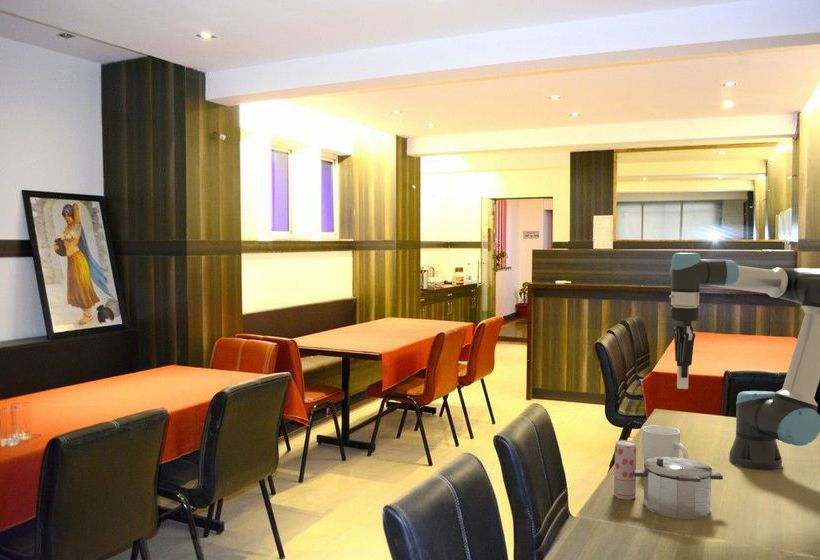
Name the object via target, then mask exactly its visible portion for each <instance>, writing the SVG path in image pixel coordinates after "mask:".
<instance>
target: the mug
mask: <svg viewBox="0 0 820 560" xmlns="http://www.w3.org/2000/svg"><path fill="white" fill-rule="evenodd" d="M641 429H642V430H641V432H642V433H641V450H642V451H641V452H642V456H643V457H642V458H643V462H644V461H645V460H647V459H650V458H655V457H677V458H680V452H682V456H683V457H682V458H685V459H689V453H688V450H687V448H686V446H685V445H684V444H682V443H681V431H680V430H679V429H678V428H675V427H671V426H666V425H658V424H654V425H653V424H652V425H645V426H643V427H642V428H641ZM680 450H681V451H680Z"/></svg>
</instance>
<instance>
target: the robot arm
mask: <svg viewBox="0 0 820 560" xmlns="http://www.w3.org/2000/svg"><path fill="white" fill-rule="evenodd" d="M669 273H670V277H671V278H670V281H671V282H670V293H671V294H670V295H668V297H669V299H670V305H672V306H671V307H670V312H669V313H670V315H669V317H670V319H671V320H672V321H675V322H676V325H675V327H673V330H672V331H673V336H674V337H673V339H674V340H673V341H674V356H675V357H674V360H675V362H676V365H677V371H676V372H677V373H676V374H677V376H676V377H677V378H676V380H677V381H676V388H677V389H678V390H679V389H680V390H682V389H683V390H688V389H689V373H690V372H689V371H690V366H692V363H693V355H694V354H693V352H694V342H695V339H696V338H695V337H696V333H695V332H694V328H693V325H692V322H697V321H699V319H700V317H699V311H700V309H699V306H700V287H701V286H702V287H703V286H704V287H705V286H706V287H707V286H709V287H715V288H723V289H730V290H731V289H732V290H739V291H746V292H754V293H761V294H762V293H763V294H766V295H768V296H769V297H770V298H776V299H781V300H786V301H790V302H793V303H796V304H801V309H802V311H803V312H804V317H803V319H802V322H801V326H800V330H799V332H798V336H797V339H796V342H795V346H794V348H793V352H792V356H791V359H790V363H789V365H788V369H787V372H786V376H785V379H784V383H783V384H782V388H781V389H779V390H777V391H766V390H749V391H748V390H746V391H745V390H744V391H740V392H739V393H738V394H737V396H736V403H735V405H736V408H735V409H736V412H735V413H736V415H735V417H736V418H735V438H734V440H733V443H732V446H731V448H730V450H729V453H728V454H729V456H728V460H729V461H730V462H731V463H732V464H734V465H736V466H739V467H743V468H747V469H753V470H763V471H774V470H779V469H781V468H782V467H783V459H782V454H781V452H780V449H779V446H778V444H777V443H778V442H777V441H781V442H782V443H784V444H787V445H792V446H796V447H803V446H807V445H809V444H810V443H812V442H814V440H816V439H817V437H818V436H819V435H820V414H819V413H818V412H817V410H818V406H819V404H818V403H817V401H816V400H815V396H816V392H817V389H818V386H819V383H820V267H819V268H818V267H794V268H789V267H788V268H785V267H784V268H783V267H773V268H772V269H766V268H760V267H752V266H744V265H738V264H737V262H736V261H734V260H732V259H723V258H722V259H705V258H704V259H703V258H702V259H701V255H700V253H697V252H675V253H674V254H673V255H672V257H671V265H670V268H669Z"/></svg>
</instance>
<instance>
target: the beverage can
mask: <svg viewBox="0 0 820 560" xmlns="http://www.w3.org/2000/svg"><path fill="white" fill-rule="evenodd" d="M633 470H637V444H636V442H635V441H632V440H628V439H627V440H625V439H620V440H616V441H615V445H614V477H613V479H614V481H613V495H614V496H615V498H617V499H621V500H625V501H626V500H633V499H635V497H636V493H637V492H636V491H637V490H636V484H637V480H636V479H637V477H635V476H634V475H633Z"/></svg>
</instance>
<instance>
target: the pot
mask: <svg viewBox="0 0 820 560" xmlns="http://www.w3.org/2000/svg"><path fill="white" fill-rule="evenodd" d="M633 475H634V476H635V477H636V478H637V477H640V478H643V505H644V506H645V508H646V509H647V510H648V511H650V512H652V513H654V514H656V515H659V516H663V517H666V518H672V519H677V520H698V519H704V518H707V517H708V516H709V514H710V513H711V507H712V505H711V504H712V503H711V498H712V496H711V495H712V494H711V493H712V480H716V481H717V480H720V481H721V480H723V478H724V477H723V476H724V475H722V473H720V472H712V475H711V476H709V477H706V478H701V479H700V482H690V481H679V480H678V479H677V478H671V477H665V476H661V475H657V474H654V473H652V472H649V471H648V470H646V469H645V468H644V467H643V469H642V470H641V469H636V470H633Z"/></svg>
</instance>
